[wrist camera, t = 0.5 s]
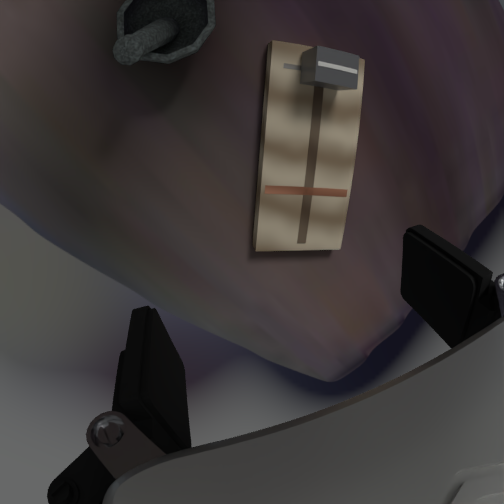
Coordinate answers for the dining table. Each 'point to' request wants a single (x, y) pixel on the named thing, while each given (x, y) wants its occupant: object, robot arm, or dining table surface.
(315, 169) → the fader board
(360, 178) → the dining table surface
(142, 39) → the mortar and pestle
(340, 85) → the fader knob
